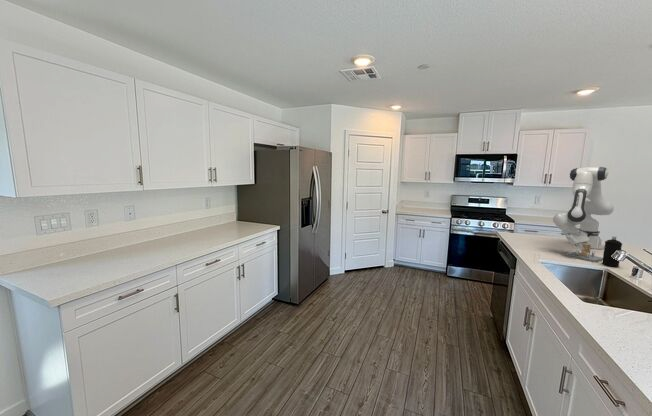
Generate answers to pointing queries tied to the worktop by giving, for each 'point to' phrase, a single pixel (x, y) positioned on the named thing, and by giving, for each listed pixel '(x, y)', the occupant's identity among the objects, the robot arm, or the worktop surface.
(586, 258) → the peg base
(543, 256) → the worktop surface
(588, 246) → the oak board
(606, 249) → the aerosol can
